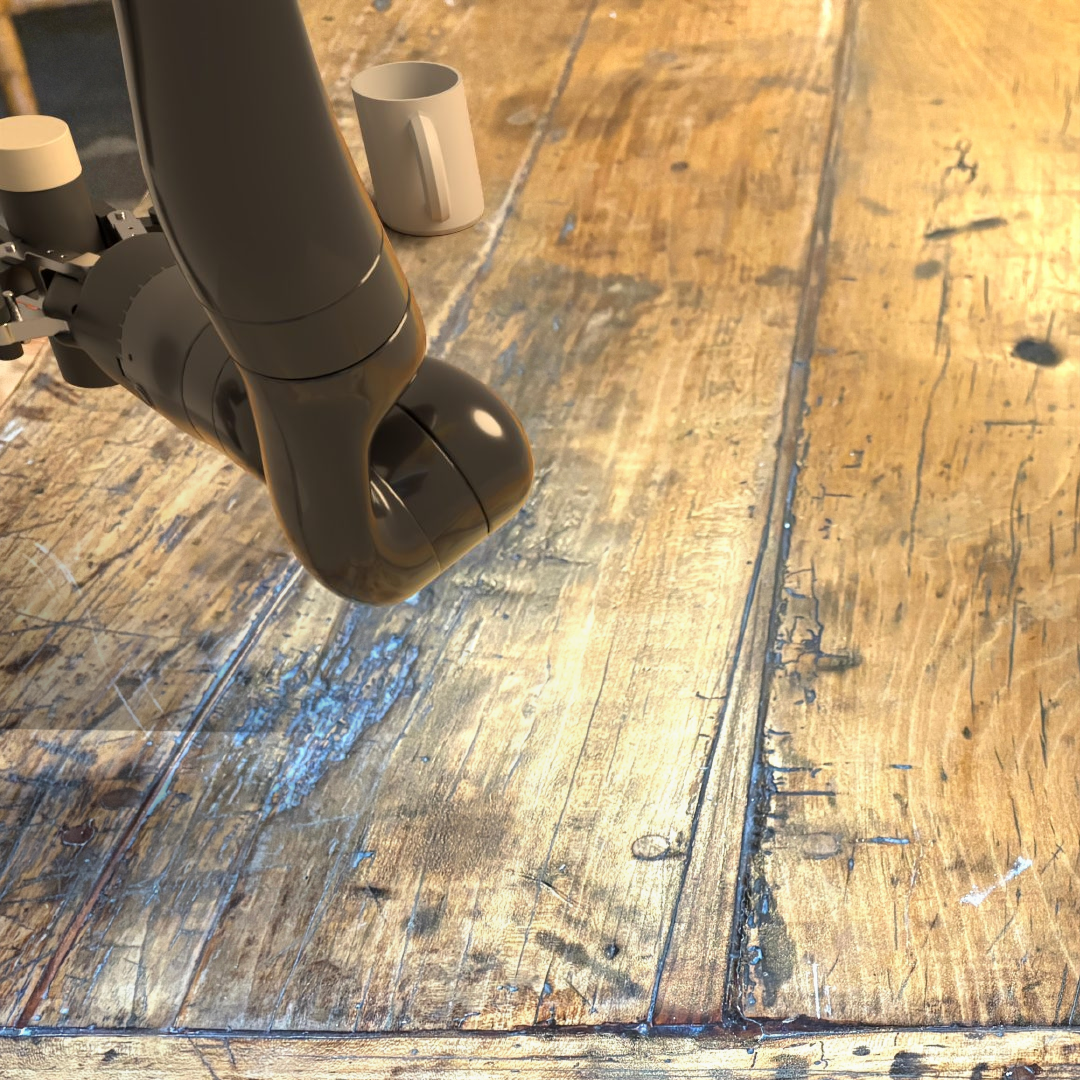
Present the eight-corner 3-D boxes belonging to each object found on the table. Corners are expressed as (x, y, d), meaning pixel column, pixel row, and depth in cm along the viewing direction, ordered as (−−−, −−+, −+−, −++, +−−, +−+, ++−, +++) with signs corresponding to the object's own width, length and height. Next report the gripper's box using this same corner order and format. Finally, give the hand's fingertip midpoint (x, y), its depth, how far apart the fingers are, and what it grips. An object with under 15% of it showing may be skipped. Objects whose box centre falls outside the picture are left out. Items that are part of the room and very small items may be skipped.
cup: (476, 188, 129) (452, 56, 123) (503, 246, 123) (479, 109, 117) (373, 201, 127) (343, 67, 121) (395, 260, 121) (365, 122, 115)
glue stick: (48, 389, 92) (-42, 147, 84) (76, 350, 95) (-8, 113, 87) (131, 391, 92) (49, 150, 84) (156, 352, 95) (80, 115, 87)
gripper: (324, 220, 83) (143, 112, 91) (25, 315, 76) (-144, 188, 84) (361, 373, 89) (186, 258, 97) (84, 475, 82) (-80, 342, 90)
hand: (33, 227), depth 90 cm, fingers closed on glue stick, 4 cm apart
